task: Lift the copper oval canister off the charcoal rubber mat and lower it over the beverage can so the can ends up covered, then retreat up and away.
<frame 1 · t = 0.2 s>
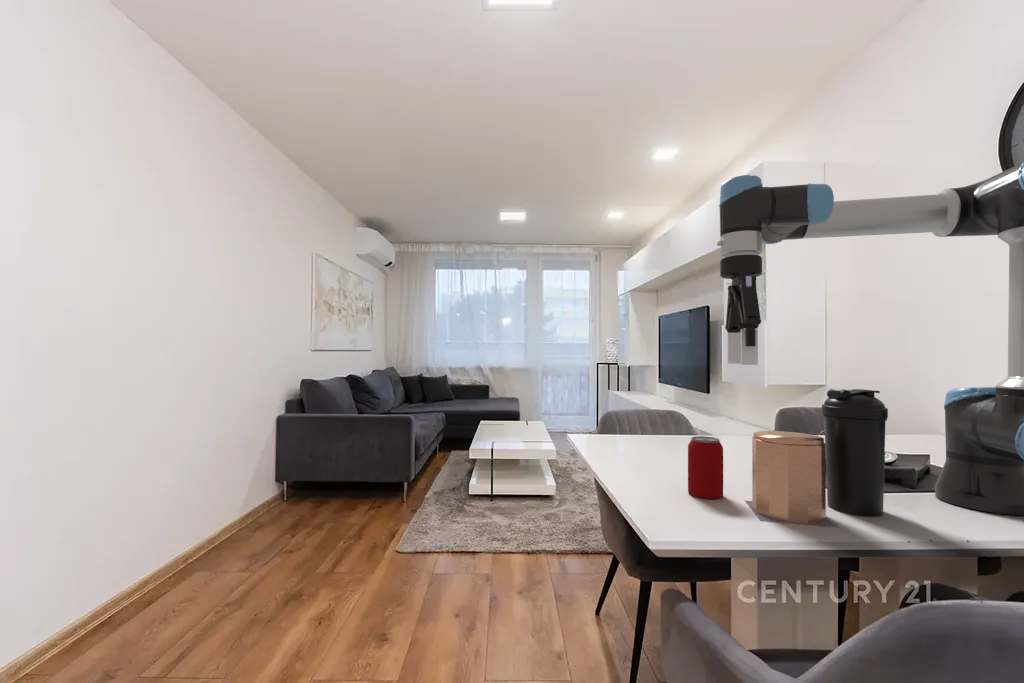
hand: (741, 364, 95), 27 cm above the table, fingers open, 13 cm apart
water bottle: (854, 512, 90), on the table
beverage can: (705, 498, 99), on the table
mat: (787, 515, 88), on the table
copper oval canister: (787, 512, 88), resting on mat
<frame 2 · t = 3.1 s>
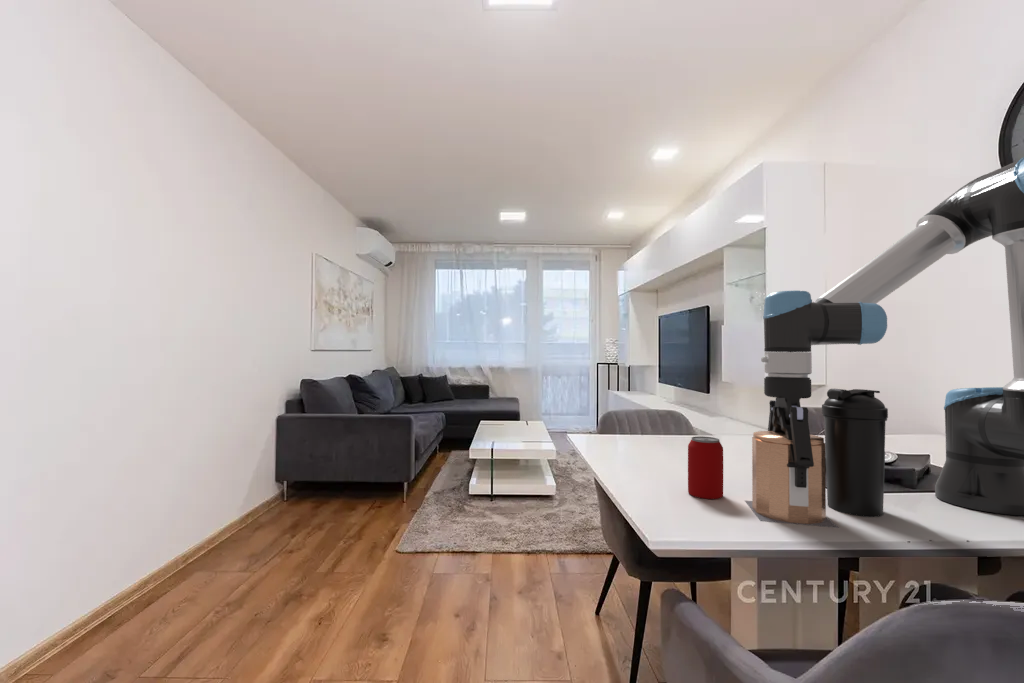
hand: (787, 495, 88), 4 cm above the table, fingers closed on copper oval canister, 11 cm apart
copper oval canister: (787, 512, 88), resting on mat, touching gripper
everything else where it was.
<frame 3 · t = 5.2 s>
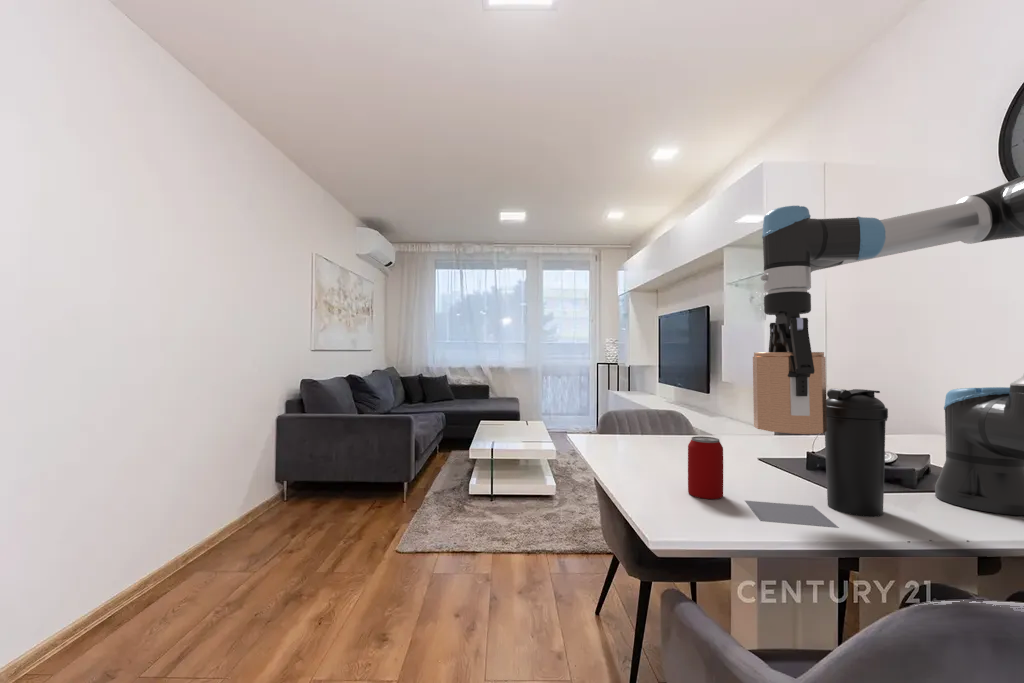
hand: (789, 411, 88), 19 cm above the table, fingers closed on copper oval canister, 11 cm apart
copper oval canister: (789, 428, 88), point 16 cm above the table, touching gripper
everything else where it was.
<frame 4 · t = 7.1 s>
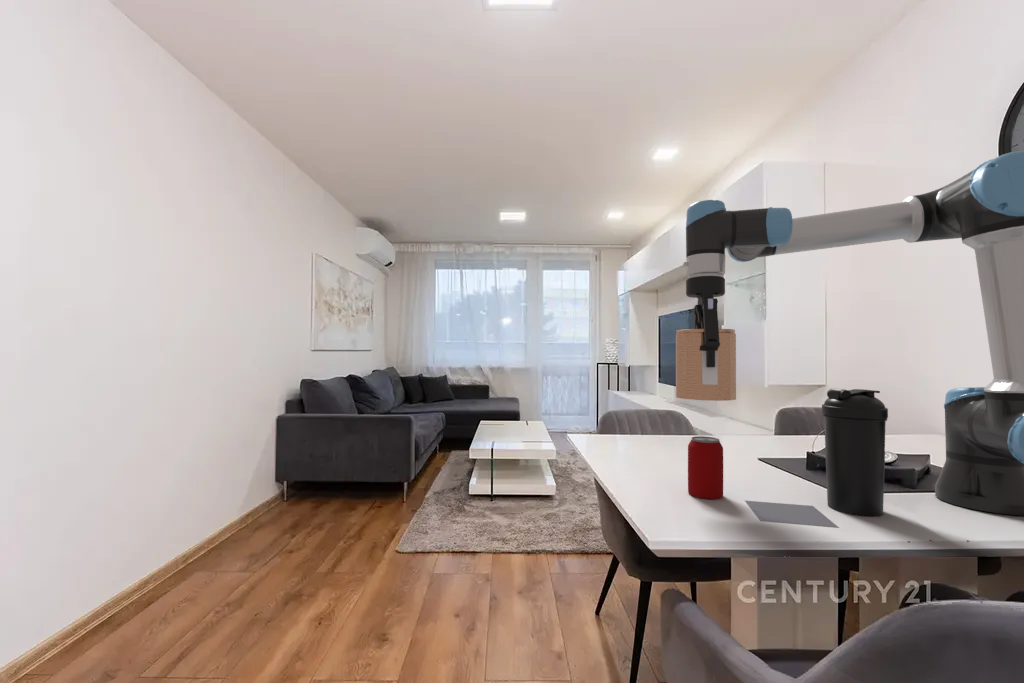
hand: (705, 382, 99), 23 cm above the table, fingers closed on copper oval canister, 11 cm apart
copper oval canister: (705, 397, 99), point 20 cm above the table, touching gripper
everything else where it was.
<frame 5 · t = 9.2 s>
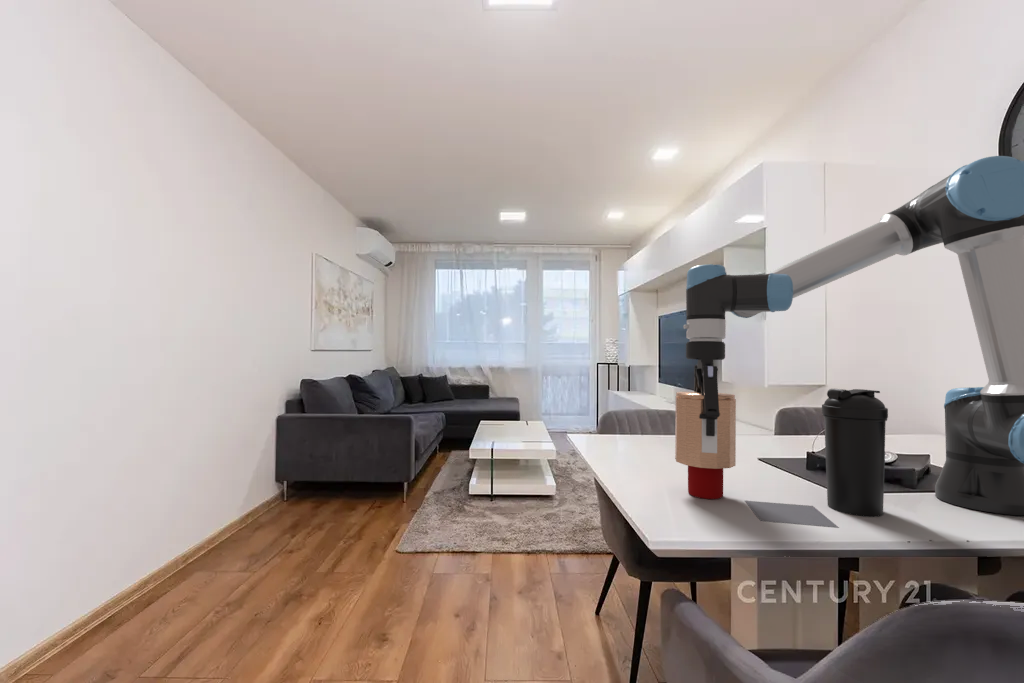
hand: (704, 446, 99), 10 cm above the table, fingers closed on copper oval canister, 11 cm apart
copper oval canister: (704, 462, 99), point 7 cm above the table, touching gripper
everything else where it was.
when the fingers open (5 cm above the table, at t = 11.0 s): copper oval canister drops 2 cm, on the table.
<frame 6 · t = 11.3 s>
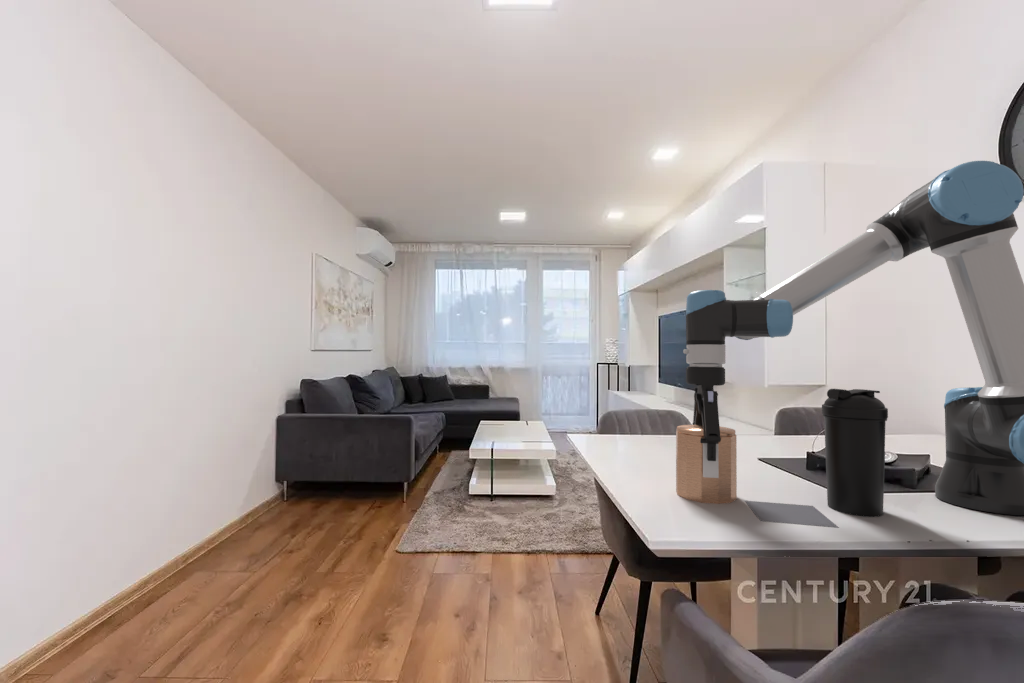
hand: (705, 469, 99), 6 cm above the table, fingers open, 13 cm apart
copper oval canister: (705, 497, 99), on the table
everything else where it was.
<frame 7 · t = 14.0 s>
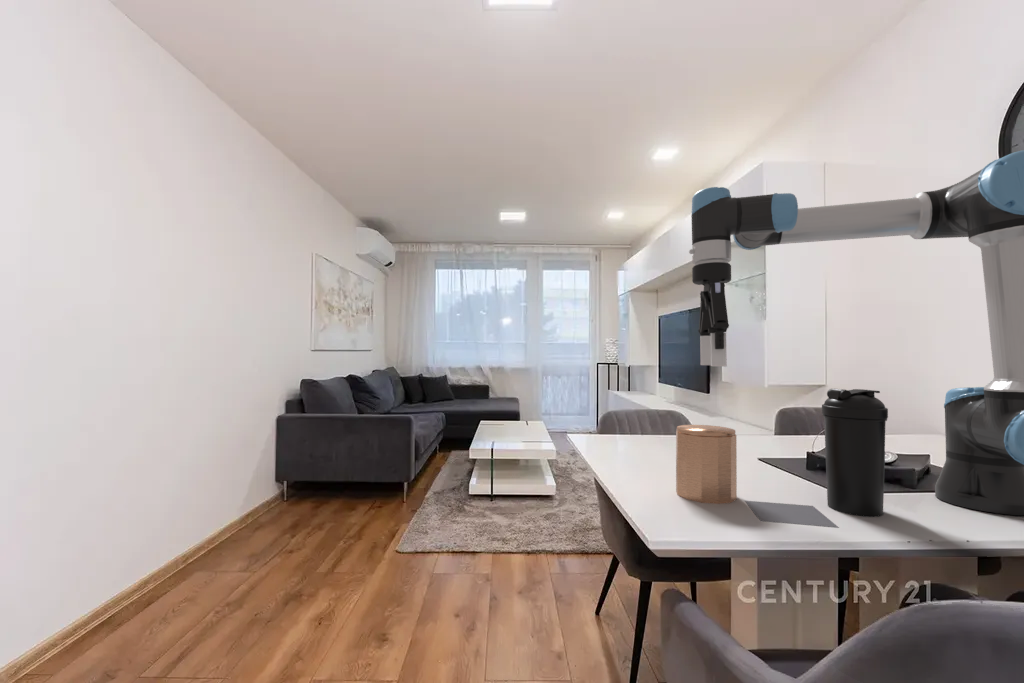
hand: (712, 366, 100), 27 cm above the table, fingers open, 13 cm apart
nothing on the table moved.
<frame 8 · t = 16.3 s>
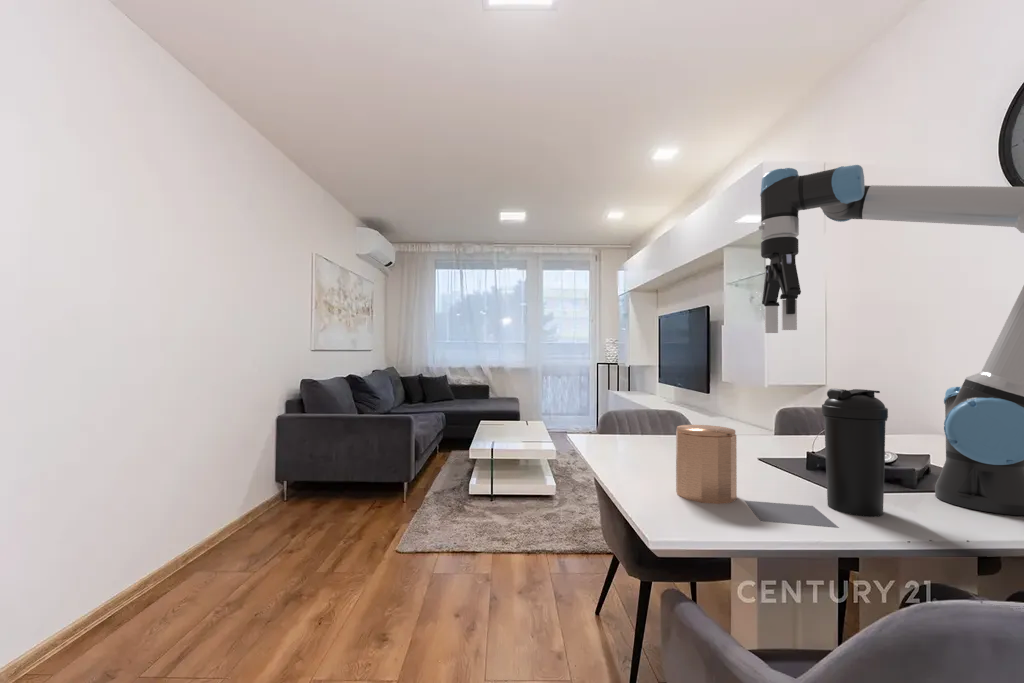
hand: (779, 331, 110), 35 cm above the table, fingers open, 13 cm apart
nothing on the table moved.
at the end: copper oval canister 0.0 cm from the beverage can (horizontally); copper oval canister on the table; beverage can tilted 0° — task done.
